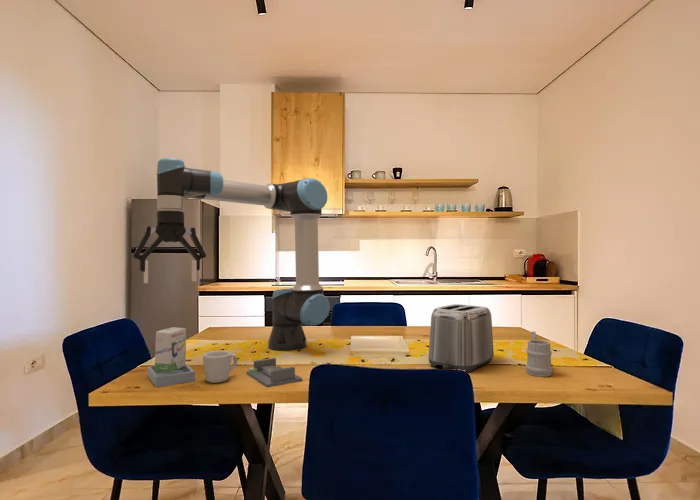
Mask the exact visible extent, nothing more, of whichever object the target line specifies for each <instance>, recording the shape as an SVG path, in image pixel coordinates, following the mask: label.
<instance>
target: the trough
mask: <svg viewBox="0 0 700 500" xmlns="http://www.w3.org/2000/svg"><path fill="white" fill-rule="evenodd" d="M146 368H147V374H146V375H147V377H148V379H149V380H150V382H151V383H152V384H153V386H154V387H155V388H160V387H166V386H172V385H173V386H174V385H179V384H185V383H193V382H195V381H196V371H195V370H194V369H193V368H192V367H191V366H189V365H188V364H187V363H186V365H185V366H183V367H181V368H179V369H177V370H174V371H172V372H170V373H164V372H155V365H150V366H147V367H146Z"/></svg>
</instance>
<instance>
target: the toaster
mask: <svg viewBox="0 0 700 500" xmlns="http://www.w3.org/2000/svg"><path fill="white" fill-rule="evenodd" d="M430 316H431V317H430V330H429V345H428V362H429V365H430V366H432V367H437V366H442V369H460V370H465V371H467V372H466V373H469V372H471V371H474V370H475V369H476V368H477V367H479V366H481V365H483V364H485V363H490V362H491V361H492V360H493V357H494V355H495V353H494V340H493V339H494V337H493V322H492V321H493V320H492V319H493V317H492V314H491V310H490V309H489V308H488V307H487V306H479V305H470V304H458V303H457V304H456V303H455V304H448V305H444V306H443V305H442V306H438V307H435V308H434V309H433V310H432V313H431V315H430Z"/></svg>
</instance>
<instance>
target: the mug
mask: <svg viewBox="0 0 700 500" xmlns="http://www.w3.org/2000/svg"><path fill="white" fill-rule="evenodd" d="M526 354H527V355H526V357H527V360H526V365H525V370H526V373H527V375H530V376H533V377H537V378H538V377H539V378H548V377H551V376H552V372H554V371H553V369H554V367H552V350H551V342H550V341H548V340H543V339H537V332H536V331H534V330H533V331H531V338H530V340H528V341H527V349H526Z"/></svg>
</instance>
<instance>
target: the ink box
mask: <svg viewBox="0 0 700 500" xmlns="http://www.w3.org/2000/svg"><path fill="white" fill-rule="evenodd" d="M154 348H155V349H154V350H155V352H154V355H155V356H154V366H155V372H164V373H170V372H172V371H174V370H177V369H179V368H181V367H183V366H185V365H186V364H187V363H186V361H187V358H186V357H187V355H186V354H187V353H186V352H187V351H186V350H187V328H185V327H175V326H172V327H171V326H170V327H168V328H164V329H160V330H158V331H156V332H155V347H154Z"/></svg>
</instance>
